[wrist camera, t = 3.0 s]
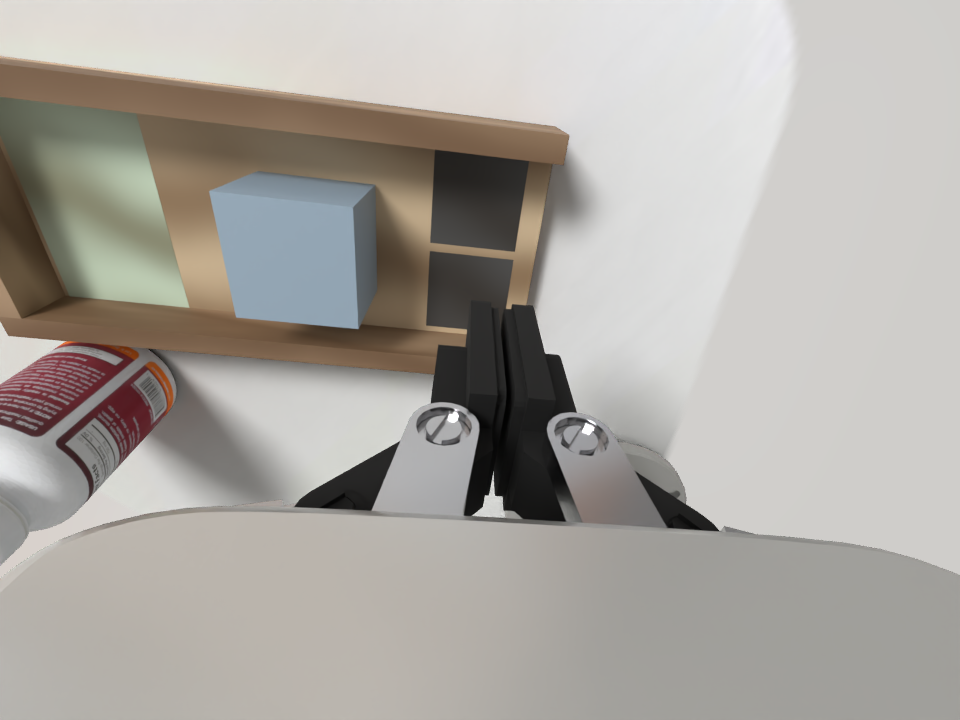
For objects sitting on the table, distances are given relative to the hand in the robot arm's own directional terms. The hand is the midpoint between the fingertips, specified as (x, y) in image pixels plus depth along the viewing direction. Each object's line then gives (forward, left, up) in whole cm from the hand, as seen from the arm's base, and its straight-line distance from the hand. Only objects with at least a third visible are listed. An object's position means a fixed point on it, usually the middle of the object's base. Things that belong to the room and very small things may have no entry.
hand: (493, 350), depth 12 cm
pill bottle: (-11, +20, -11) cm, 25 cm away
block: (-1, +8, -10) cm, 13 cm away
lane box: (-1, +10, -11) cm, 15 cm away
